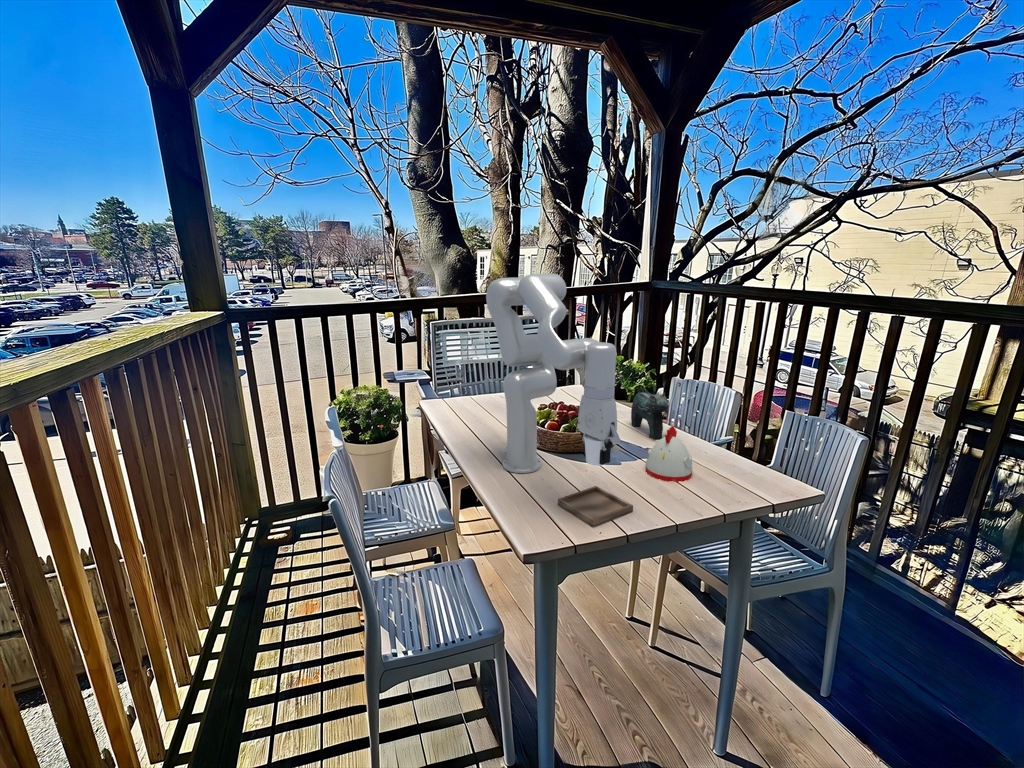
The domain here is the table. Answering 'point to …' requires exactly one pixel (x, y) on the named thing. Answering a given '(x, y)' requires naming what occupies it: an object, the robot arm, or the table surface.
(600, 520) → the walnut tray
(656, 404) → the dark green animal figurine
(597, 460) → the shot glass
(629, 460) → the table surface
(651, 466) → the kitchen timer
